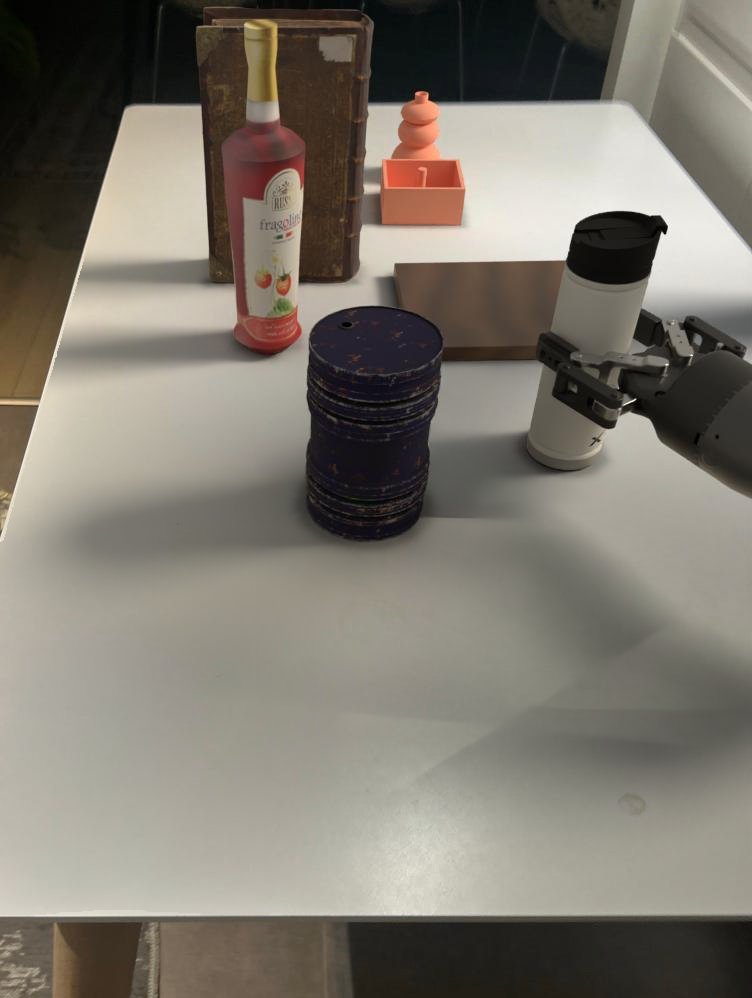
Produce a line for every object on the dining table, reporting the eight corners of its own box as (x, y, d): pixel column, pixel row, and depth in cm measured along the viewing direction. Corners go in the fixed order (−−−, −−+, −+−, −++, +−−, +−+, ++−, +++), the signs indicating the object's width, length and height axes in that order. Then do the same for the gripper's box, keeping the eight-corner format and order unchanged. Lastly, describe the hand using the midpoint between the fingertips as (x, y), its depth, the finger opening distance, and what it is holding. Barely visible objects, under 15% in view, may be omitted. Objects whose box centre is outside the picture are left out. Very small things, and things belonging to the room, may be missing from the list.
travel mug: (610, 470, 81) (680, 239, 67) (533, 472, 81) (585, 241, 67) (593, 428, 86) (655, 201, 71) (519, 429, 86) (566, 203, 71)
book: (362, 262, 108) (376, 6, 90) (357, 292, 104) (371, 28, 85) (218, 255, 110) (203, 2, 92) (206, 284, 105) (188, 24, 87)
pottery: (460, 224, 115) (472, 137, 108) (382, 224, 115) (388, 137, 108) (449, 166, 127) (458, 85, 120) (378, 166, 127) (383, 84, 120)
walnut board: (573, 272, 106) (576, 259, 105) (613, 358, 94) (617, 344, 93) (393, 275, 106) (394, 262, 105) (409, 361, 94) (411, 347, 93)
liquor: (257, 369, 93) (246, 43, 73) (218, 338, 97) (198, 21, 77) (318, 347, 96) (324, 26, 75) (277, 317, 100) (273, 6, 80)
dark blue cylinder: (449, 503, 79) (474, 338, 68) (369, 560, 74) (383, 392, 63) (359, 453, 84) (369, 291, 73) (280, 503, 79) (278, 339, 68)
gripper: (833, 351, 66) (658, 260, 76) (686, 412, 62) (520, 307, 71) (791, 441, 72) (634, 345, 81) (654, 503, 67) (504, 394, 77)
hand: (581, 328), depth 76 cm, fingers open, 8 cm apart
